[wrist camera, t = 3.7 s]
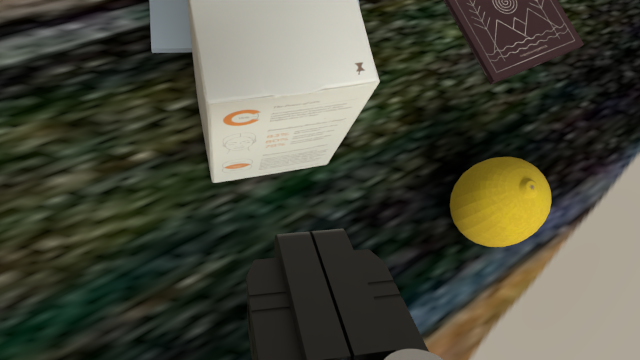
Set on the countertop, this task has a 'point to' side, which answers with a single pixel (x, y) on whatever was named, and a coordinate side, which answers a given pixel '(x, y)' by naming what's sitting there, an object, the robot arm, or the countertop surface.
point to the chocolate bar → (513, 33)
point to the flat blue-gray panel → (170, 26)
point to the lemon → (500, 201)
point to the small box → (277, 81)
